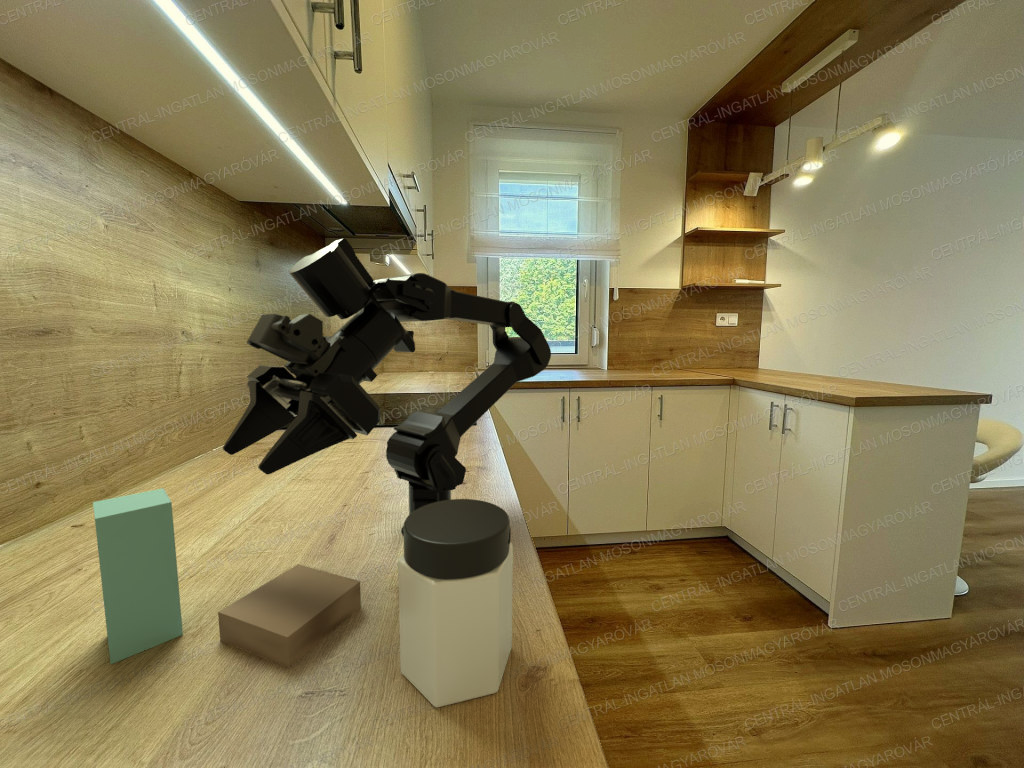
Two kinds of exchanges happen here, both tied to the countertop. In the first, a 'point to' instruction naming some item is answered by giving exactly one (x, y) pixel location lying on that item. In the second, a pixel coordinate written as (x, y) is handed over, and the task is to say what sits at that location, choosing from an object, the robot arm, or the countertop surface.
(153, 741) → the countertop surface
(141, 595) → the teal block
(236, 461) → the countertop surface
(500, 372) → the robot arm
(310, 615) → the walnut block
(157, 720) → the countertop surface
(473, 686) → the jar
